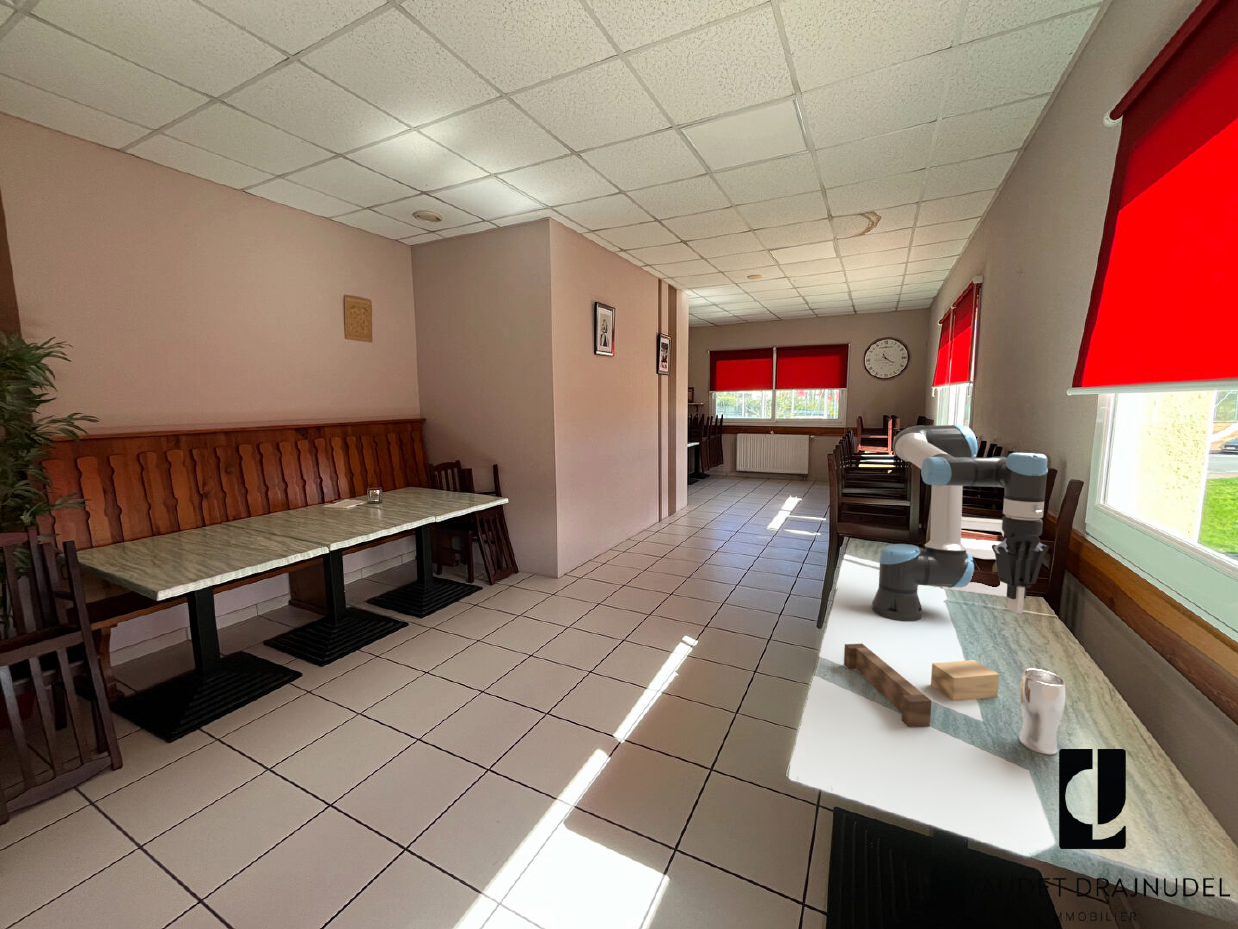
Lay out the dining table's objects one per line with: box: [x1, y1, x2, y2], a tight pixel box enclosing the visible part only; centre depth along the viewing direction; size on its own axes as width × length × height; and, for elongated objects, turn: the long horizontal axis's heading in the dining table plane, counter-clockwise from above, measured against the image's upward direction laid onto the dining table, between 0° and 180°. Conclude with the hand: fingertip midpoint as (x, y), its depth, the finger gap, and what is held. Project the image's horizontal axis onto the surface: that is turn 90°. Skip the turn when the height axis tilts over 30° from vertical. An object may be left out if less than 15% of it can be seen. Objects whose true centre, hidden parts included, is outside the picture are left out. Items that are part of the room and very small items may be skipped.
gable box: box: [941, 516, 1008, 598], centre depth 190 cm, size 22×13×28 cm, turn 62°
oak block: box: [930, 659, 1000, 702], centre depth 121 cm, size 7×12×6 cm, turn 98°
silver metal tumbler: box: [1018, 668, 1066, 756], centre depth 101 cm, size 7×7×15 cm
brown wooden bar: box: [843, 643, 932, 728], centre depth 120 cm, size 27×5×6 cm, turn 4°
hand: (1014, 611), depth 120 cm, fingers closed
